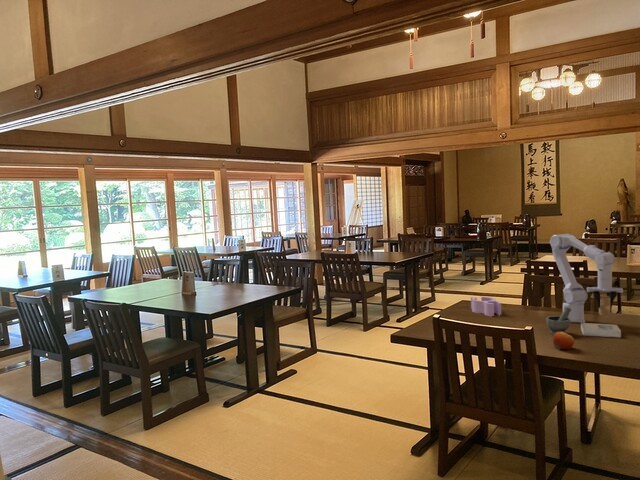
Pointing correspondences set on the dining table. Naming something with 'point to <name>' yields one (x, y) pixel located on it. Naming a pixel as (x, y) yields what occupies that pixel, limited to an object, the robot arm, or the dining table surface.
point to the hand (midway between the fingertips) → (604, 307)
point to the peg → (604, 305)
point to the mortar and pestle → (559, 322)
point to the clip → (486, 306)
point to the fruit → (563, 340)
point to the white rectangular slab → (600, 330)
